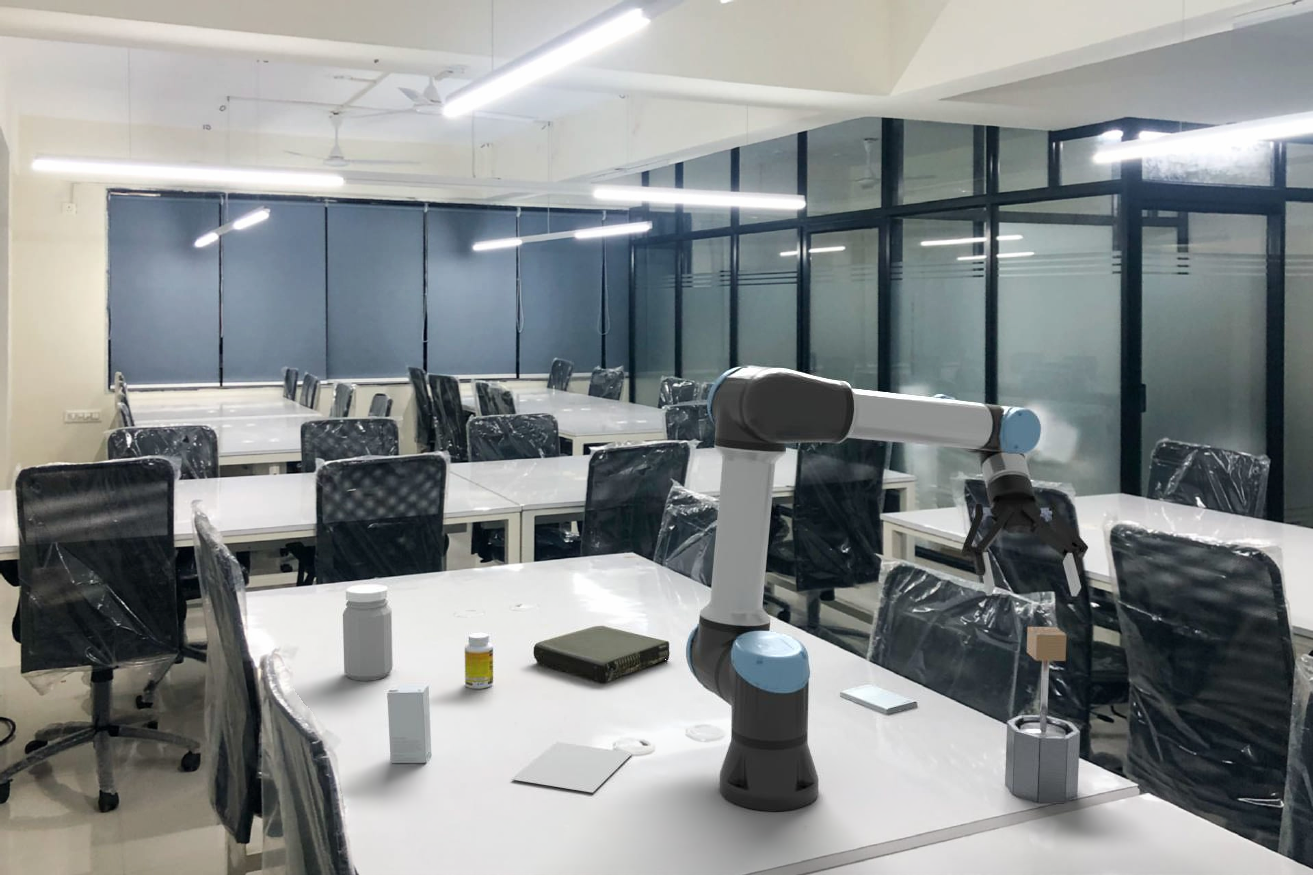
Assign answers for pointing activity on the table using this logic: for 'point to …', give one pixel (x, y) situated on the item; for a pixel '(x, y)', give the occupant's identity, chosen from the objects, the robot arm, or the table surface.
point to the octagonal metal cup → (1042, 761)
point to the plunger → (1045, 672)
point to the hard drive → (878, 699)
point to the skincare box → (409, 723)
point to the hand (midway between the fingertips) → (1033, 591)
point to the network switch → (600, 653)
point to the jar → (367, 632)
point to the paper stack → (573, 767)
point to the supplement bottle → (478, 661)
